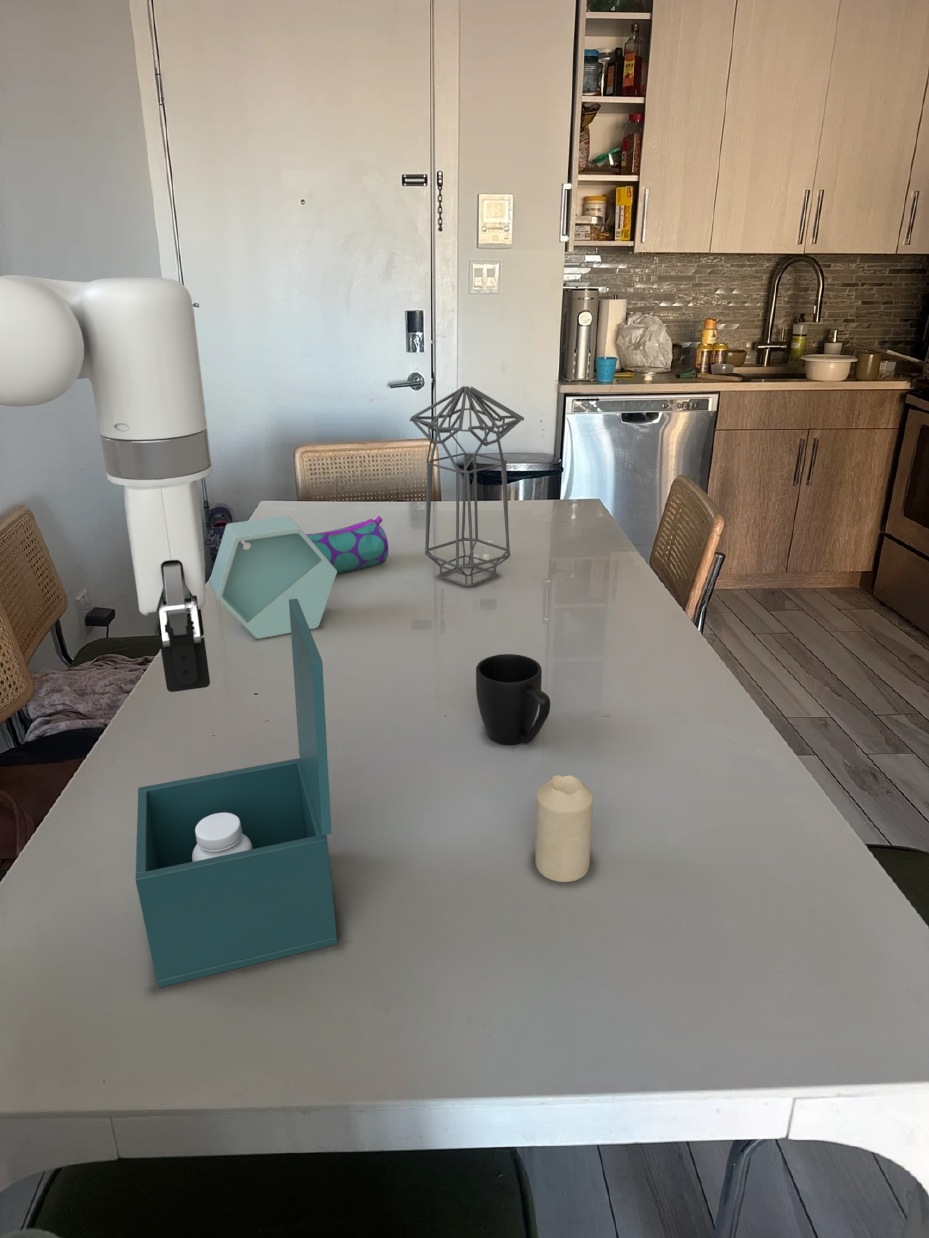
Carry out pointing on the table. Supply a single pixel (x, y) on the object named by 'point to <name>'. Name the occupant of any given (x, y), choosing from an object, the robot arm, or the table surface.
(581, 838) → the candle
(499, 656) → the mug
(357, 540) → the pencil case
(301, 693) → the cool box lid
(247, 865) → the teal open box
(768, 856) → the table surface
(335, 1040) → the table surface
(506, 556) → the geometric lantern
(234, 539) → the planter
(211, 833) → the supplement bottle
